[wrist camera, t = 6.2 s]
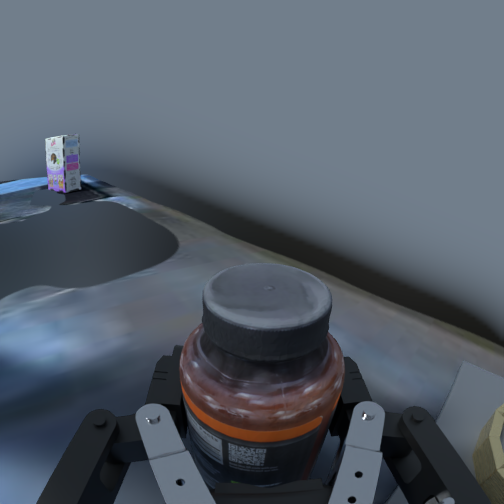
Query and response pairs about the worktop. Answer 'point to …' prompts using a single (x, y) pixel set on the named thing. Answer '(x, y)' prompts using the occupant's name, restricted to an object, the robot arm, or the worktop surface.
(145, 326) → the worktop surface
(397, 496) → the grey square plate
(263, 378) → the supplement bottle
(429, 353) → the worktop surface
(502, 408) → the brass collar
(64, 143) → the candy box
